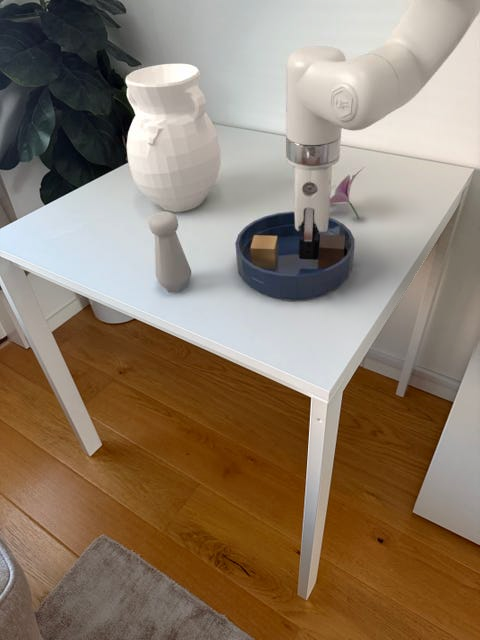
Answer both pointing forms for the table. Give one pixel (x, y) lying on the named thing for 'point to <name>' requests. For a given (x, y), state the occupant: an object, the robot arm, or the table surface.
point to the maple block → (264, 251)
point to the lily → (344, 191)
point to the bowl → (291, 260)
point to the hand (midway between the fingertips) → (309, 256)
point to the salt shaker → (169, 253)
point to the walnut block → (330, 250)
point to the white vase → (171, 137)
